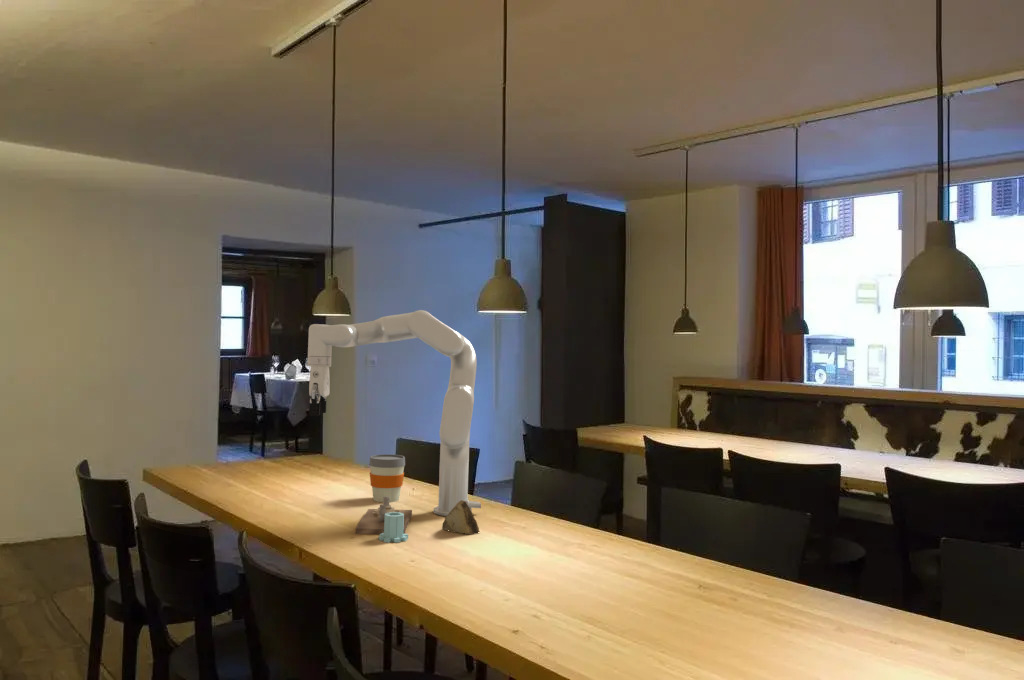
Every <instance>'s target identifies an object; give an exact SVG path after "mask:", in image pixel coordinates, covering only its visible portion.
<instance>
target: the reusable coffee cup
mask: <svg viewBox="0 0 1024 680" xmlns="http://www.w3.org/2000/svg"><path fill="white" fill-rule="evenodd" d="M368 463H369V464H368V465H369V467H370V472H369V481H370V486H371V490H372V499H373V501H374V502H378V503H383V497H389V503H393V502H398V501H399V500H400V496H401V488H402V487H403V484H404V477H405V472H404V469H405V466H406V457H405V456H404V455H400V454H388V453H387V454H374V455H370V457H369V462H368Z"/></svg>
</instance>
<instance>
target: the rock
mask: <svg viewBox="0 0 1024 680" xmlns="http://www.w3.org/2000/svg"><path fill="white" fill-rule="evenodd" d="M471 509H472V508H471ZM471 509H470V508H469V506H468V505H467V503H466V502H465V501H463V500H461V501H460V502H458V503H457V504H456V505H455V507H454V508H453V509H452V510H451V511H450V512H449V514H448V515H447V516H444V517H445V518H444V520H443V523H442V525H441V530H442V531H443V530H444V531H447V530H449V531H448V532H451V531H455V532H454V533H456V532H459V533H458V534H463V533H465V534H464V535H475V534H474V533H477V534H479V533H478V532H480V528H479V525H478V522H477V520H476V519H475V517H474V514H473V510H472V511H471ZM480 533H481V532H480Z"/></svg>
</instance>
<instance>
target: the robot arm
mask: <svg viewBox="0 0 1024 680" xmlns="http://www.w3.org/2000/svg"><path fill="white" fill-rule="evenodd" d="M417 338H418V339H419V340H421V341H422V342H423V343H425V344H426V345H428V346H430V347H432V349H434V350H436V351H437V352H438V353H440V354H442V355H444V357H449V358H450V370H449V371H450V372H449V380H448V386H447V391H446V392H445V394H444V399H443V403H442V404H443V405H442V413H441V420H440V427H439V432H438V433H439V434H438V435H439V439H440V449H439V453H440V454H439V475H438V477H439V482H438V501H437V503H438V504H437V505H438V506H435V507H434V508H433V513H434V514H436V515H438V516H443V517H446V516H447V515H448V514H449V512H450V511H451V510H452V509H453V508H454V507H455V505H456V504H457V503H458V502H460V501H461V500H463V501H465V502H466V503H467V505H468V506H469V508H470V509H471V511H472V512H473V509H481V508H482V502H481V501H480V502H479V501H476V500H475V501H471V500H469V496H468V493H469V462H470V442H471V441H470V440H471V439H470V438H471V426H472V419H473V412H474V403H475V393H474V392H475V386H476V385H475V383H476V375H477V365H478V364H477V360H478V359H477V355H476V354H477V353H476V351H475V348H474V346H473V344H472V343H471V342H470V341H469V340H468V339H467V338H466V337H465V336H464V335H463V334H461V333H460V332H458V331H457V330H454V329H453V328H451V327H450V326H448V325H447V324H445V323H443V322H442V321H440V320H439V319H438V318H437V317H435V316H433V315H432V314H431V313H430V312H429V311H427V310H423V309H419V310H415V311H413V312H407V313H401V314H392V315H387V316H386V315H385V316H382V317H381V316H380V317H379V318H377V319H375V320H371V321H366V322H365V321H364V322H360V323H352V324H343V323H341V324H332V325H331V324H330V325H329V324H323V323H322V324H319V323H313V324H310V325H309V327H308V339H307V340H308V342H307V345H308V347H307V367H310V368H309V369H310V370H309V386H308V387H309V388H308V390H309V391H308V392H309V396H310V399H309V413H308V415H309V416H310V417H311V416H312V417H319V416H320V415H321V414H326V412H327V397H328V396H330V392H331V391H330V390H331V389H330V385H331V383H330V379H331V378H330V377H331V376H330V367H332V352H333V351H332V349H333V347H338V348H351V347H357V346H364V345H370V344H377V343H380V344H381V343H383V344H386V343H390V342H398V341H404V340H410V339H417Z"/></svg>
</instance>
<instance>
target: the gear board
mask: <svg viewBox="0 0 1024 680" xmlns="http://www.w3.org/2000/svg"><path fill="white" fill-rule="evenodd" d="M382 503H383V504H379V507H378V508H368V509H367V510H366V512H365V514H363V517H362V518H361V520H360V521H359V523H358V524H357V525H356V527H355V532H354V533H355V535H356V534H358V535H362V534H363V535H366V534H367V535H380V534H382V533H384V519H385V513H389V512H400V513H404V527H403V534H406V530H407V528H408V525H409V523H410V521H411V518H412V515H413V510H412V509H395V507H393V506H392V504H390V502H389V497H383V502H382Z"/></svg>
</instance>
